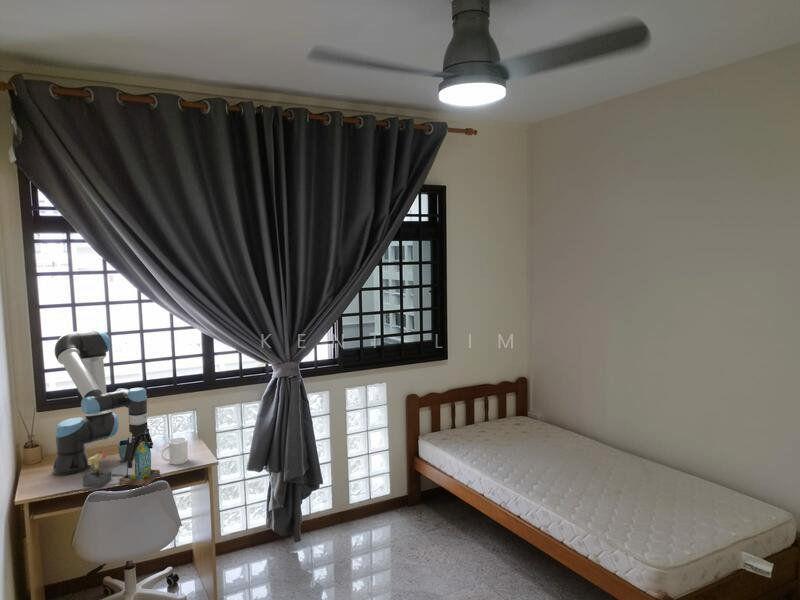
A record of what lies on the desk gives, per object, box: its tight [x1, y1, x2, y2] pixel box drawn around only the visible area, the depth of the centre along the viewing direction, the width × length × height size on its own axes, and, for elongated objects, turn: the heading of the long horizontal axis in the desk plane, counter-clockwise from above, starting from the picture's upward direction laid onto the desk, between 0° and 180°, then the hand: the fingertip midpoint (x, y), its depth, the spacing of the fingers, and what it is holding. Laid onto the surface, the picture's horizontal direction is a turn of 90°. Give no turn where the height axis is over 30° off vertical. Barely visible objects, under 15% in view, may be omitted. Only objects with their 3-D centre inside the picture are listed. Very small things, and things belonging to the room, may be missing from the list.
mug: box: [161, 437, 189, 466], centre depth 272 cm, size 9×12×11 cm
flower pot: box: [117, 439, 128, 463], centre depth 275 cm, size 9×9×9 cm
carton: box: [126, 441, 152, 479], centre depth 252 cm, size 7×8×18 cm
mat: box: [110, 461, 127, 477], centre depth 263 cm, size 14×14×1 cm
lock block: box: [82, 469, 112, 488], centre depth 248 cm, size 8×8×4 cm
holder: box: [118, 468, 161, 487], centre depth 252 cm, size 13×12×2 cm
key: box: [88, 450, 106, 474], centre depth 248 cm, size 9×2×8 cm, turn 173°
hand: (139, 468), depth 252 cm, fingers open, 13 cm apart
